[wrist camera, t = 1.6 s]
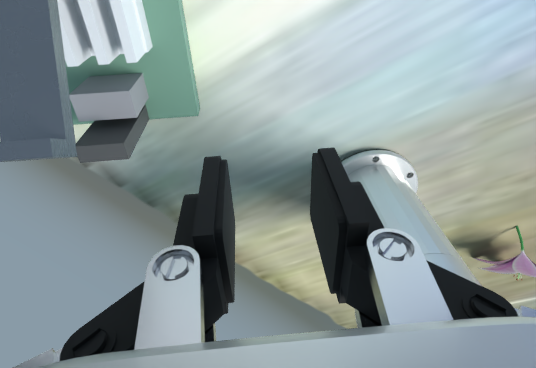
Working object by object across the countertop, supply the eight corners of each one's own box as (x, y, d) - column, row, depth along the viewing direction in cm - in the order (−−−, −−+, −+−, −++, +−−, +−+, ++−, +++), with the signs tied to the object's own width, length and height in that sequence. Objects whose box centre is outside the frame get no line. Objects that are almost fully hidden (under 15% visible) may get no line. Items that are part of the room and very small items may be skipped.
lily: (452, 232, 52) (471, 297, 48) (544, 210, 44) (575, 285, 40) (479, 242, 60) (497, 300, 56) (562, 225, 52) (590, 290, 48)
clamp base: (199, 108, 37) (189, 155, 28) (68, 117, 36) (19, 167, 28) (150, -187, 24) (104, -255, 16) (-55, -179, 23) (-212, -245, 15)
